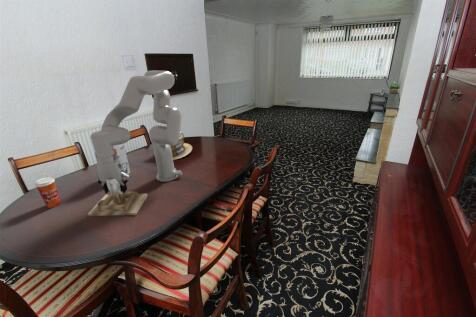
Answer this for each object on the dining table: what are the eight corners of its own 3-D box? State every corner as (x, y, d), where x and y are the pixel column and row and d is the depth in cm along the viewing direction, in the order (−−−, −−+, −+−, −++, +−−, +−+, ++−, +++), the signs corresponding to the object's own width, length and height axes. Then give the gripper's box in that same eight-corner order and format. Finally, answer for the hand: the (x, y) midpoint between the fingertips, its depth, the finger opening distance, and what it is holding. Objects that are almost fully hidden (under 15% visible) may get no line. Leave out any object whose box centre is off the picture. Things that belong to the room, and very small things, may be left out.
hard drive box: (114, 185, 134) (105, 153, 126) (103, 184, 136) (93, 152, 127) (131, 172, 148) (124, 143, 140) (120, 171, 150) (112, 142, 141)
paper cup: (48, 211, 113) (37, 186, 108) (41, 206, 117) (30, 181, 111) (66, 202, 119) (57, 178, 114) (59, 198, 123) (49, 174, 117)
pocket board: (147, 195, 124) (146, 189, 122) (135, 214, 109) (134, 208, 108) (105, 196, 124) (104, 190, 122) (88, 216, 109) (86, 209, 108)
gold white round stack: (171, 163, 159) (168, 140, 152) (151, 154, 174) (147, 133, 167) (199, 152, 176) (197, 130, 169) (178, 144, 191) (176, 125, 184)
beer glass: (116, 199, 119) (108, 173, 113) (130, 198, 119) (123, 172, 113) (110, 207, 113) (101, 180, 106) (125, 206, 113) (117, 179, 107)
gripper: (129, 154, 109) (137, 187, 117) (92, 155, 109) (102, 188, 117) (122, 161, 102) (131, 195, 110) (82, 162, 103) (94, 196, 110)
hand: (116, 191), depth 113 cm, fingers open, 7 cm apart
